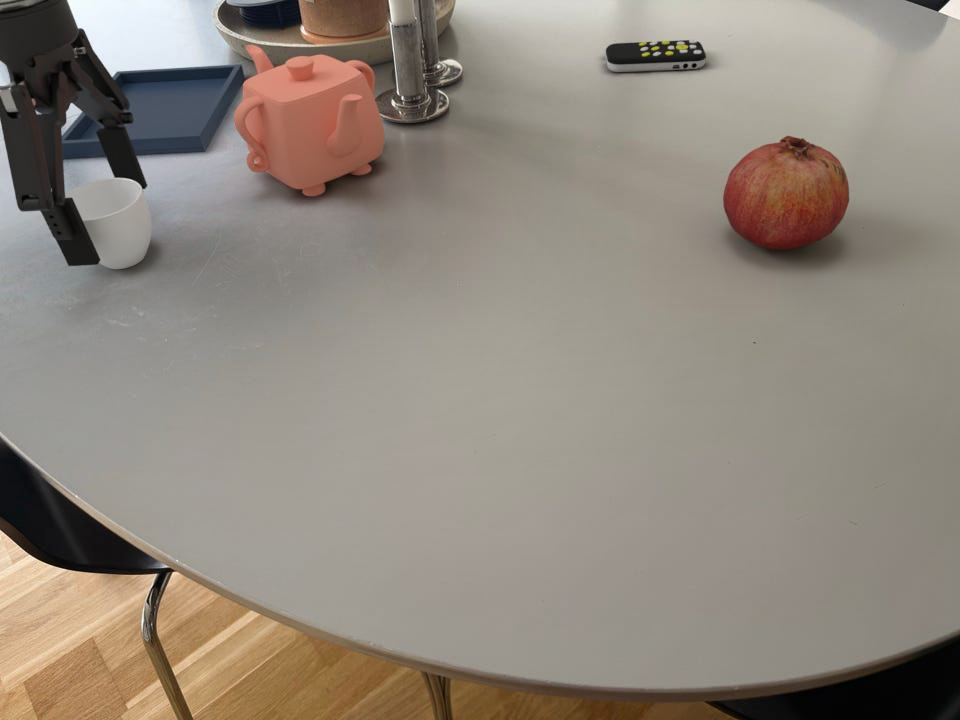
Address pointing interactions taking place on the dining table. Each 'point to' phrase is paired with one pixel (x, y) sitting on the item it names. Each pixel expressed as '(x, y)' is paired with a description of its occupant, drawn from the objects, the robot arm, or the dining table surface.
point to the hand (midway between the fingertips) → (111, 223)
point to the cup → (115, 220)
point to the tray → (164, 110)
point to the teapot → (309, 120)
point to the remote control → (655, 56)
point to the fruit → (786, 194)
